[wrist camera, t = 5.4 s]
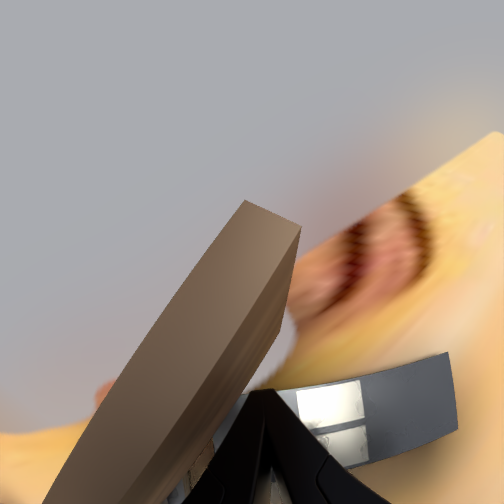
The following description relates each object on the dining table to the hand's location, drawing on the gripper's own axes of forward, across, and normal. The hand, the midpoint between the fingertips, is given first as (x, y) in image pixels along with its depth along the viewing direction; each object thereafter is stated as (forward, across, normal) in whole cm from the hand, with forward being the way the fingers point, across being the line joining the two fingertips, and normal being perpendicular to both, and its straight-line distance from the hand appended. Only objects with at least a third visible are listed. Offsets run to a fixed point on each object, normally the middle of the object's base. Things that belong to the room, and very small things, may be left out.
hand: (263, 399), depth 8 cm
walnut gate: (+2, +3, +4) cm, 5 cm away
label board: (+2, -1, +6) cm, 7 cm away
